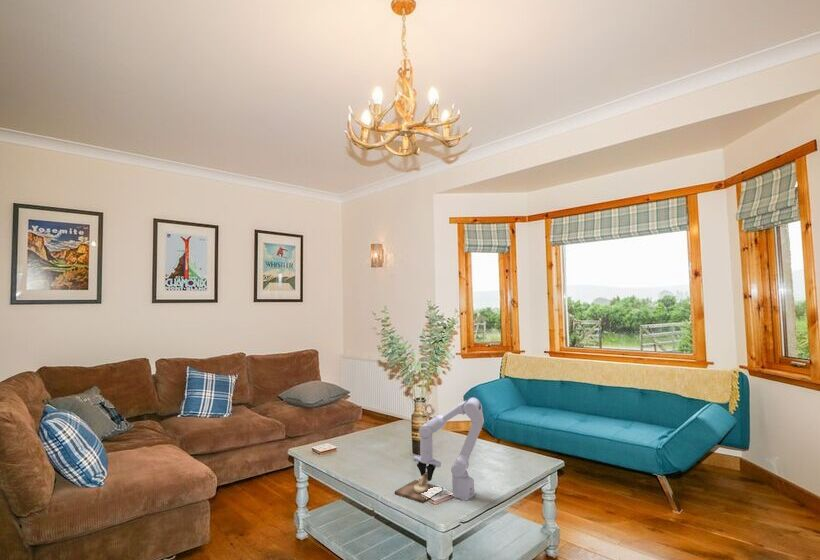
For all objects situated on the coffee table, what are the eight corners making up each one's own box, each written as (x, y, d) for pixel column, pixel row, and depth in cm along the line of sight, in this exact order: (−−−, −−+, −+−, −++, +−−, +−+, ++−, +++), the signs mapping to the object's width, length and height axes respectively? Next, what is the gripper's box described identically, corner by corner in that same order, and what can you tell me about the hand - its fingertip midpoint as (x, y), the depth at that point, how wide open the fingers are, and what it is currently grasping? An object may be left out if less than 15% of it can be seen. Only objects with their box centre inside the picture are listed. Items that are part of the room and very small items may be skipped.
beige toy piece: (424, 495, 201) (424, 481, 201) (411, 492, 204) (411, 478, 204) (434, 485, 210) (434, 472, 211) (422, 483, 214) (422, 470, 214)
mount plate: (442, 490, 209) (442, 487, 209) (423, 503, 196) (423, 500, 196) (415, 482, 218) (415, 479, 218) (394, 494, 205) (394, 491, 206)
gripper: (444, 450, 209) (444, 480, 208) (418, 444, 217) (419, 473, 217) (435, 454, 203) (436, 485, 203) (410, 448, 212) (410, 477, 211)
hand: (426, 479), depth 209 cm, fingers open, 3 cm apart
